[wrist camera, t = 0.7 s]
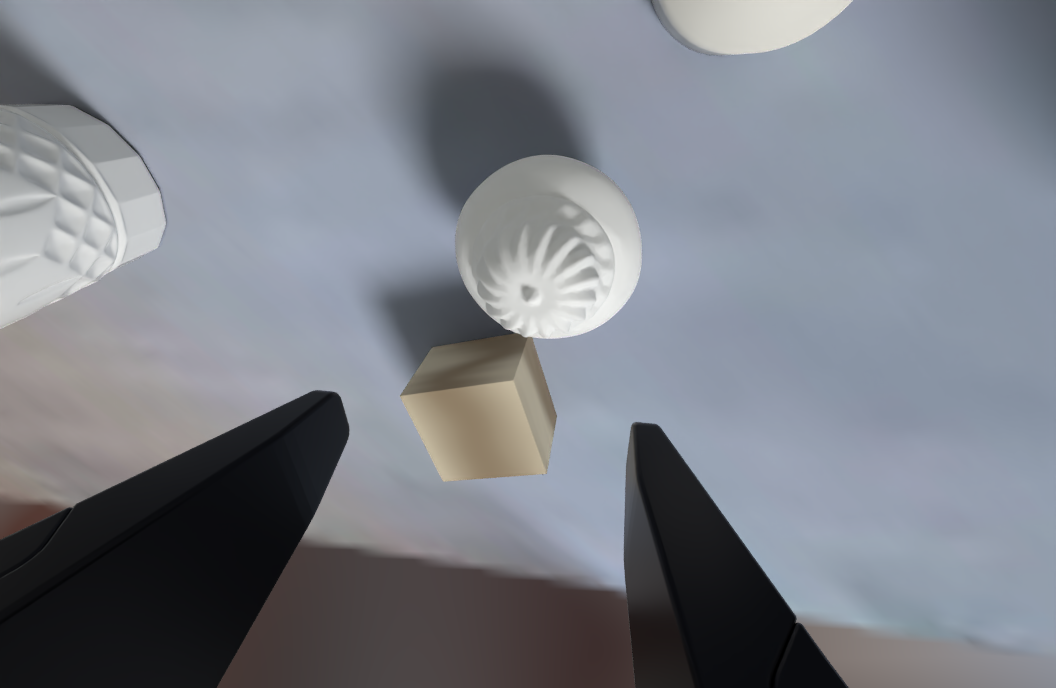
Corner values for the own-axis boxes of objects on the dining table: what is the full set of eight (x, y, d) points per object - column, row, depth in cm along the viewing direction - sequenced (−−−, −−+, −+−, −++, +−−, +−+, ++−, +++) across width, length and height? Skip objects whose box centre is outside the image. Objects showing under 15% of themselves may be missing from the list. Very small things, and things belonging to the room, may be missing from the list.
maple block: (530, 329, 21) (513, 380, 18) (557, 414, 23) (546, 473, 20) (432, 346, 22) (399, 396, 19) (467, 424, 25) (443, 481, 21)
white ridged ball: (669, 178, 17) (696, 242, 11) (599, 316, 20) (589, 422, 14) (509, 111, 16) (446, 138, 10) (465, 261, 20) (397, 346, 14)
